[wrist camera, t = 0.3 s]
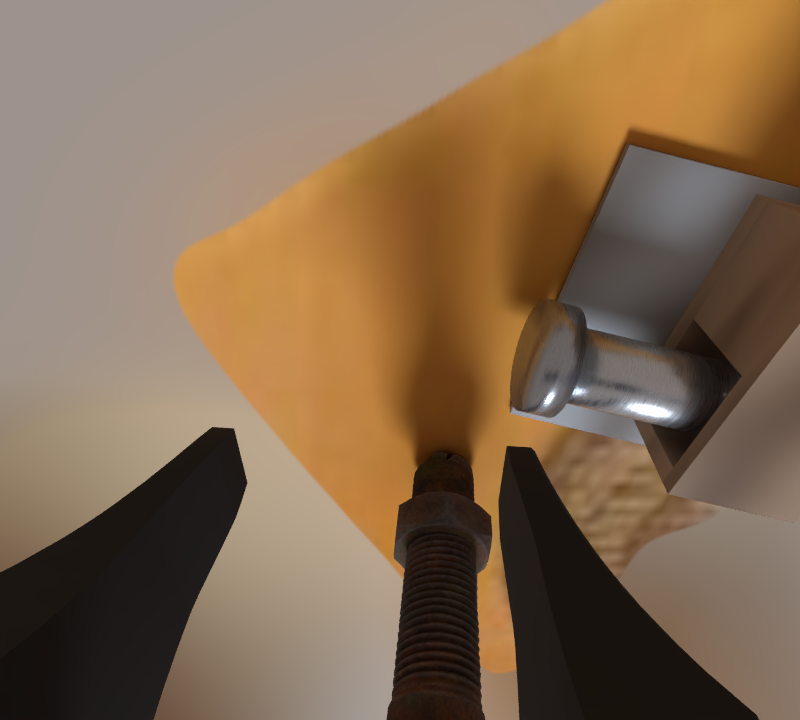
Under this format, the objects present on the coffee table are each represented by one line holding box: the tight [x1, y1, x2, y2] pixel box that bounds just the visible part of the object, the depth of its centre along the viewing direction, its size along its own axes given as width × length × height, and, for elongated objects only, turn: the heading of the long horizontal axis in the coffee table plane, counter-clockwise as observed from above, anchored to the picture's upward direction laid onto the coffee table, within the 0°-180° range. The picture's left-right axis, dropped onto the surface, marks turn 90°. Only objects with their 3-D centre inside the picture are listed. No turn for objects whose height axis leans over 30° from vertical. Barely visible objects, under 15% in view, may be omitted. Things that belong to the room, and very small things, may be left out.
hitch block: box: [510, 143, 800, 523], centre depth 19 cm, size 12×12×6 cm
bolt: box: [387, 451, 492, 720], centre depth 21 cm, size 6×5×15 cm
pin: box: [510, 299, 742, 435], centre depth 19 cm, size 10×4×4 cm, turn 78°
